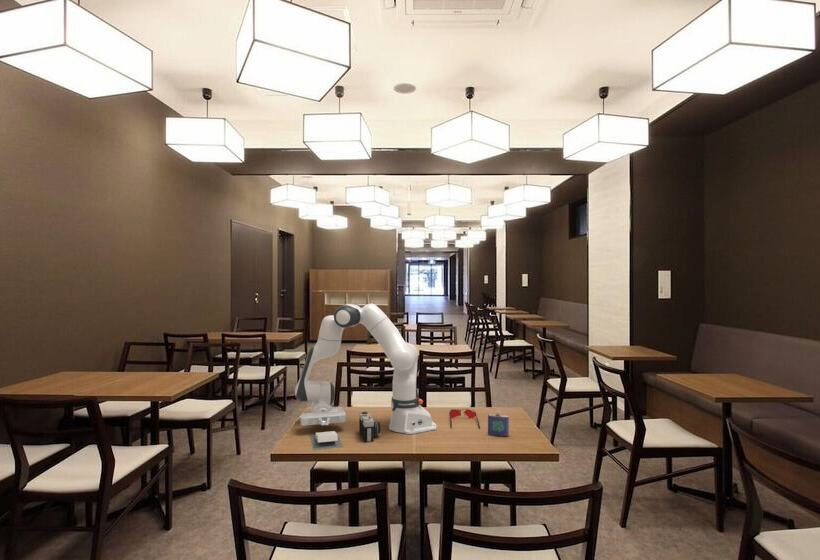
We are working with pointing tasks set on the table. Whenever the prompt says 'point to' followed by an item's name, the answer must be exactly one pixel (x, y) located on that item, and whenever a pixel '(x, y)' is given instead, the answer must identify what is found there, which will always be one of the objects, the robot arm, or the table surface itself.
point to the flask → (498, 425)
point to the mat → (325, 443)
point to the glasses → (458, 413)
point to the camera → (368, 427)
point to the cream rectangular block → (326, 436)
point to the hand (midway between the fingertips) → (325, 423)
